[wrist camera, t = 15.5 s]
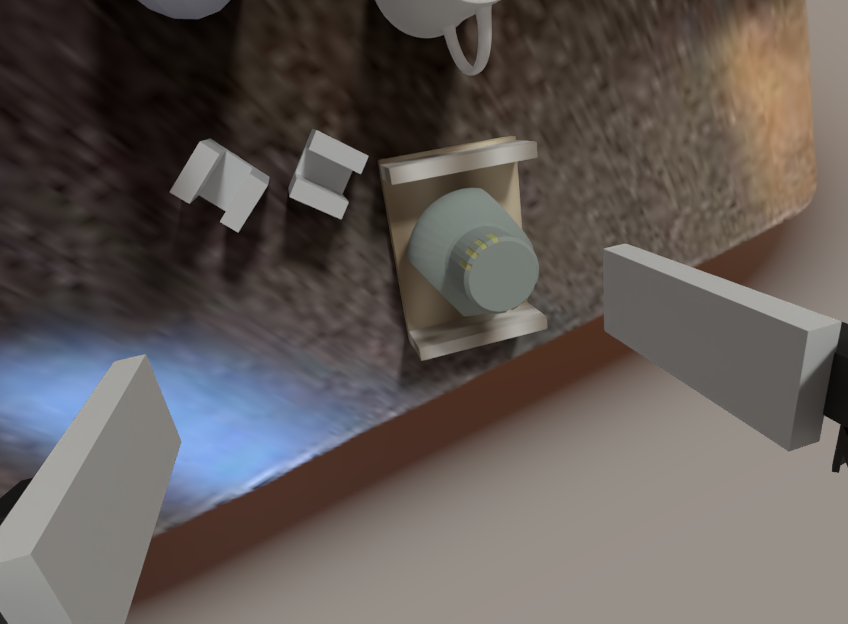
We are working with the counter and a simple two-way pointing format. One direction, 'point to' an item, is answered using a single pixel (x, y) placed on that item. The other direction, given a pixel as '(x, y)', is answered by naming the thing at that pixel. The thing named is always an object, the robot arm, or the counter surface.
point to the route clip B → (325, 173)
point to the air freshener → (474, 253)
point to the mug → (443, 24)
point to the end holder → (407, 200)
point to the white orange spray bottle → (185, 7)
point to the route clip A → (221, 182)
